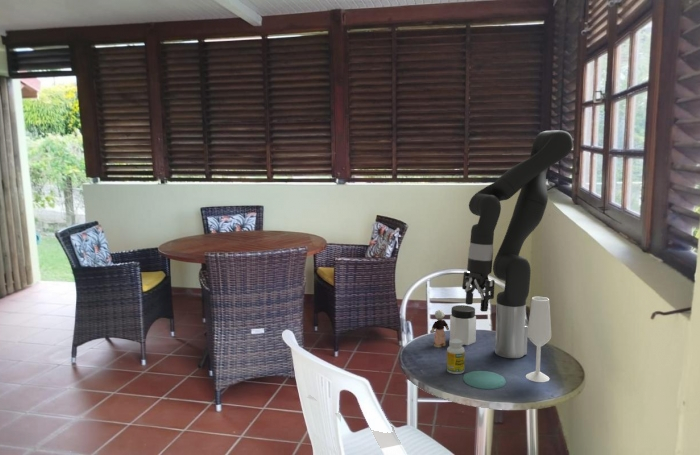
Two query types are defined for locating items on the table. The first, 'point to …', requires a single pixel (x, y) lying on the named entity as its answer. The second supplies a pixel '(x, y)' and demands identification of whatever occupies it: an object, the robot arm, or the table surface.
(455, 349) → the supplement bottle
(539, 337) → the champagne flute
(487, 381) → the mat
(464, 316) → the jar
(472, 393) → the table surface
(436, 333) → the grandmother figurine
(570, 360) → the table surface
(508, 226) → the robot arm
